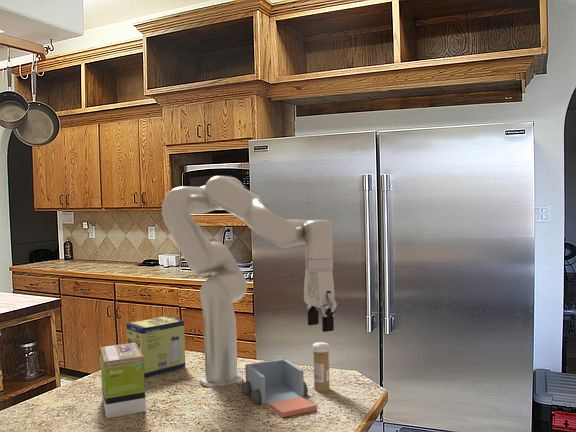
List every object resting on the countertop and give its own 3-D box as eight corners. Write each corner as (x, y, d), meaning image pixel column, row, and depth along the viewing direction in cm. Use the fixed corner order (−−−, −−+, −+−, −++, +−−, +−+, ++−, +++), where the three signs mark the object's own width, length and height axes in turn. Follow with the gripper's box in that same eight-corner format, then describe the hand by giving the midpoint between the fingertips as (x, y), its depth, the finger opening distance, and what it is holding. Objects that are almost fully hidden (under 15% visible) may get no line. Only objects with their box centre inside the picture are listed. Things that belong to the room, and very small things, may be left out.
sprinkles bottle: (333, 392, 146) (332, 344, 146) (320, 396, 144) (319, 346, 143) (323, 387, 150) (322, 340, 150) (310, 391, 147) (309, 343, 147)
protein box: (126, 371, 169) (125, 323, 169) (169, 360, 180) (168, 315, 179) (142, 379, 161) (140, 328, 161) (186, 367, 172) (185, 319, 171)
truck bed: (241, 394, 146) (240, 365, 146) (289, 385, 153) (289, 357, 152) (257, 409, 136) (256, 378, 135) (308, 398, 142) (308, 369, 142)
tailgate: (268, 402, 136) (282, 412, 128) (300, 396, 140) (316, 405, 132) (268, 407, 136) (282, 417, 128) (301, 401, 140) (317, 410, 132)
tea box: (101, 399, 145) (99, 345, 145) (138, 393, 149) (137, 341, 149) (105, 419, 131) (103, 360, 131) (146, 412, 135) (145, 354, 135)
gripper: (293, 262, 152) (294, 323, 153) (322, 268, 136) (323, 336, 137) (316, 260, 155) (317, 320, 156) (347, 266, 140) (348, 332, 140)
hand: (320, 327), depth 146 cm, fingers open, 8 cm apart
